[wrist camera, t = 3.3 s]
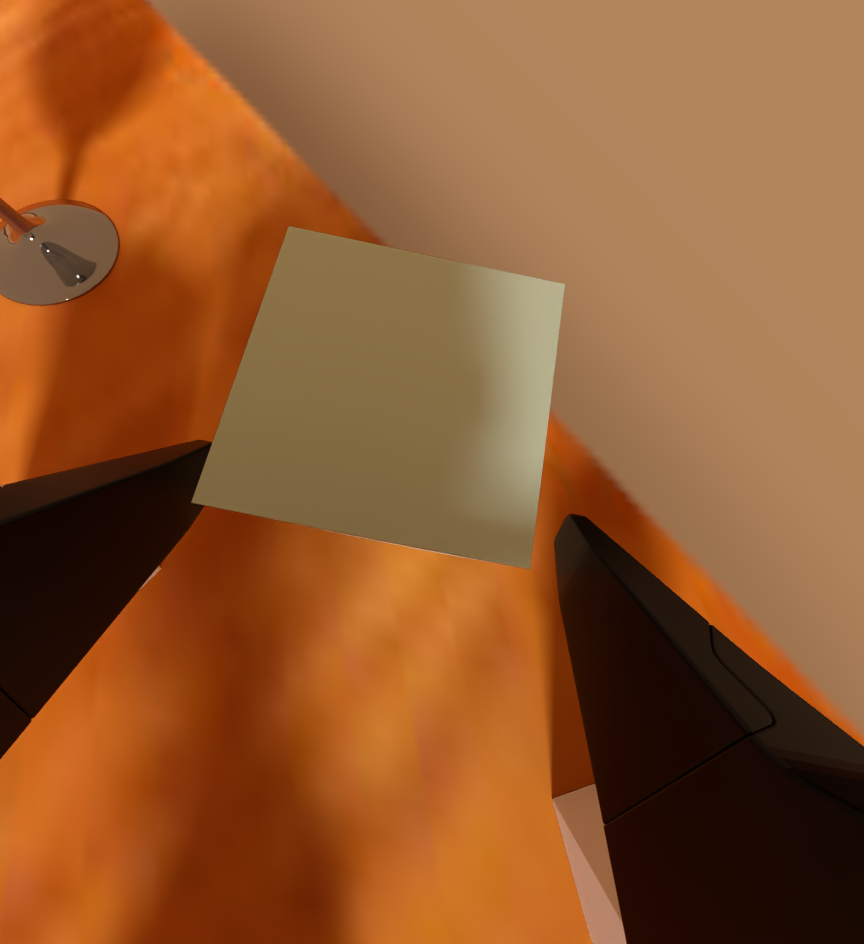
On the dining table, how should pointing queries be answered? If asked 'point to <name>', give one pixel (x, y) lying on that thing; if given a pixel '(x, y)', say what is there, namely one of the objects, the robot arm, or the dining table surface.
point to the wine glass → (54, 251)
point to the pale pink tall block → (590, 863)
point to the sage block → (392, 400)
